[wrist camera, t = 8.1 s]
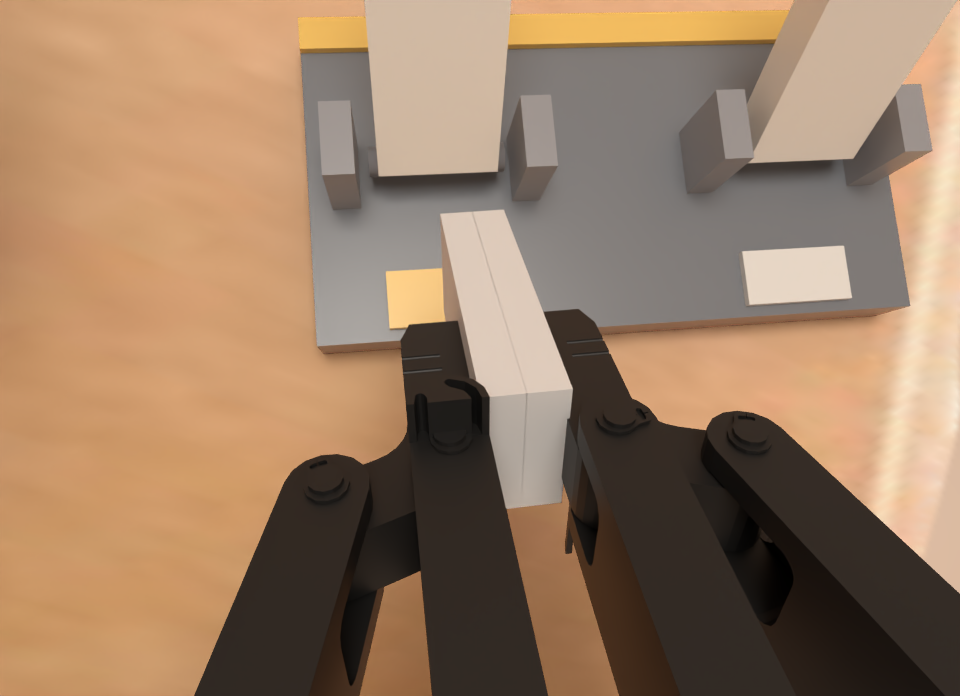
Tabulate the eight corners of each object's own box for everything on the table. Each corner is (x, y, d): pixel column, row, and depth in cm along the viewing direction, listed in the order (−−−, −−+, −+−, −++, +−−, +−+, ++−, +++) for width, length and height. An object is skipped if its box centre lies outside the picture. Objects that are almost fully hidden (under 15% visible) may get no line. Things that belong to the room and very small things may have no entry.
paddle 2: (735, 173, 25) (898, -162, 16) (721, 143, 26) (870, -192, 17) (853, 169, 26) (1073, -160, 17) (836, 139, 27) (1037, -188, 18)
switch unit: (323, 353, 26) (303, 331, 21) (306, 50, 27) (283, -41, 22) (875, 315, 28) (978, 286, 23) (831, 39, 30) (919, -44, 25)
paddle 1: (370, 188, 24) (334, -194, 15) (369, 159, 25) (334, -214, 16) (505, 183, 24) (539, -189, 16) (498, 154, 25) (527, -210, 17)
